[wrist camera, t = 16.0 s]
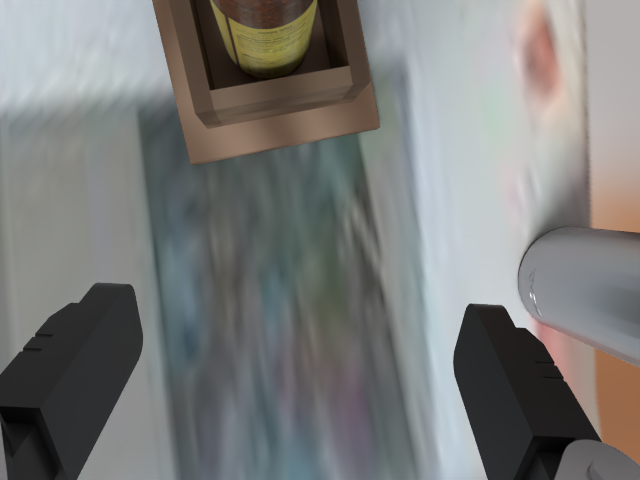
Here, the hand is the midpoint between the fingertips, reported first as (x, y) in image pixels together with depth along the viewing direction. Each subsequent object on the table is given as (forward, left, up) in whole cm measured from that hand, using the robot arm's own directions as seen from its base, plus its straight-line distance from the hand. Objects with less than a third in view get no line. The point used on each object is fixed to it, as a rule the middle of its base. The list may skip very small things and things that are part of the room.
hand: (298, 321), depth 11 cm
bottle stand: (-2, -15, -25) cm, 30 cm away
